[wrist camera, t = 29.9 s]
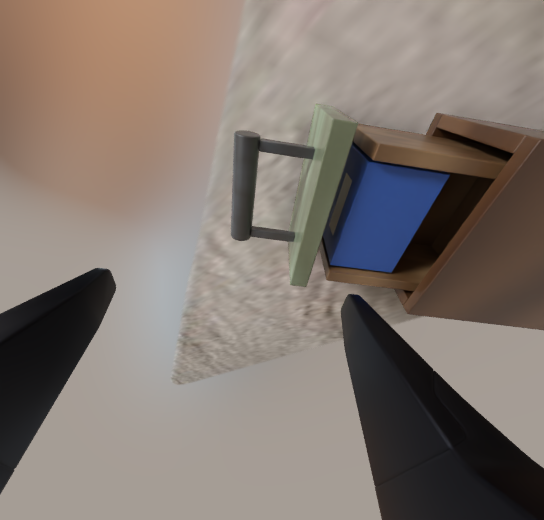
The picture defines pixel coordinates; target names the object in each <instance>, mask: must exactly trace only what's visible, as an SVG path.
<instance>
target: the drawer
mask: <svg viewBox="0 0 544 520" xmlns="http://www.w3.org/2000/svg"><path fill="white" fill-rule="evenodd" d="M352 142H354V143H355V144H356V145H357V146H358V147H359V148H361V149H362V150H363V151H364V152H365V153H366V154H367V155H368V156H369V157H370V158H371V159H372V160H373V161H379V162H386V163H392V164H398V165H405V166H411V167H418V168H424V169H430V170H437V171H443V172H447V173H448V174H450V176H449V178H448V180H447V181H446V183H445V185H444V186H443V188H442V190H441V191H440V193H439V195H438V196H437V198H436V200H435V201H434V203H433V205H432V206H431V208H430V210H429V211H428V213H427V215H426V216H425V218H424V220H423V221H422V223H421V225H420V226H419V228H418V230H417V231H416V233H415V235H414V236H413V238H412V240H411V241H410V243H409V245H408V246H407V248H406V250H405V251H404V253H403V255H402V256H401V258H400V260H399V261H398V263H397V265H396V266H395V268H394V270H393V271H392V273H389V272H382V271H374V270H366V269H358V268H350V267H343V266H335V265H330V262H329V258H328V254H327V250H326V246H325V243H324V239H323V233H324V230H325V227H326V224H327V220H328V217H329V214H330V211H331V208H332V205H333V202H334V199H335V195H336V192H337V189H338V186H339V183H340V180H341V177H342V173H343V170H344V167H345V164H346V161H347V158H348V155H349V151H350V148H351V145H352ZM259 151H260V152H267V153H273V154H280V155H286V156H293V157H299V158H304V161H303V166H302V171H301V175H300V180H299V185H298V190H297V194H296V199H295V204H294V208H293V213H292V218H291V223H290V227H289V231H284V230H277V229H269V228H262V227H255V226H252V219H253V208H254V198H255V188H256V177H257V167H258V157H259ZM512 155H513V154H512V153H510V152H507V151H504V150H501V149H498V148H495V147H492V146H489V145H483V144H477V143H471V142H465V141H459V140H453V139H447V138H441V137H435V136H429V135H423V134H416V133H410V132H404V131H398V130H392V129H386V128H380V127H374V126H368V125H362V124H358V123H357V122H356V121H354V120H353V119H351V118H349V117H348V116H346V115H345V114H343V113H342V112H340V111H339V110H337V109H335V108H334V107H332V106H327V105H321V104H316V105H315V109H314V114H313V118H312V123H311V128H310V133H309V137H308V142H307V146H305V145H299V144H293V143H286V142H280V141H274V140H267V139H260V135H259V134H257V133H255V132H250V131H236V132H235V133H234V159H233V187H232V216H231V236H232V238H233V239H235V240H239V241H245V240H248V239H249V238H250V237H258V238H266V239H273V240H281V241H288V246H289V270H290V285H294V286H302V287H306V286H307V283H308V280H309V277H310V274H311V271H312V267H313V264H314V261H315V258H316V255H317V252H318V249H319V247H320V252H321V257H322V261H323V266H324V270H325V275H326V279H327V280H328V281H336V282H344V283H352V284H360V285H368V286H376V287H384V288H392V289H400V290H408V291H414V290H415V289H416V288H417V286H418V285H419V284H420V282H421V281H422V279H423V278H424V277H425V275H426V274H427V273H428V271H429V270H430V268H431V267H432V266H433V264H434V263H435V262H436V260H437V259H438V257H439V256H440V255H441V253H442V252H443V251H444V249H445V248H446V246H447V245H448V244H449V242H450V241H451V239H452V238H453V237H454V235H455V234H456V233H457V231H458V230H459V228H460V227H461V226H462V224H463V223H464V222H465V220H466V219H467V217H468V216H469V215H470V213H471V212H472V211H473V209H474V208H475V206H476V205H477V204H478V202H479V201H480V200H481V198H482V197H483V195H484V194H485V193H486V191H487V190H488V189H489V187H490V186H491V184H492V183H493V182H494V180H495V179H496V178H497V176H498V175H499V173H500V172H501V171H502V169H503V168H504V167H505V165H506V164H507V162H508V161H509V160H510V158H511V157H512Z"/></svg>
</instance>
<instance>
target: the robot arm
mask: <svg viewBox="0 0 544 520" xmlns="http://www.w3.org/2000/svg"><path fill="white" fill-rule="evenodd" d="M115 291H116V284H115V281H114V279H113V276H112V273H111V271H110V270H108V269H103V268H95V269H93V270H91V271H89V272H87V273H85V274H83V275H81V276H78V277H76V278H74V279H72V280H70V281H68V282H66V283H64V284H62V285H60V286H57V287H55V288H54V289H51V290H49V291H47V292H45V293H43V294H41V295H39V296H37V297H34V298H32V299H30V300H28V301H26V302H24V303H22V304H20V305H18V306H16V307H14V308H11V309H9V310H7V311H5V312H3V313H1V314H0V494H1V492H2V490H3V489H4V487H5V485H6V484H7V482H8V480H9V479H10V477H11V475H12V474H13V472H14V469H15V468H16V467H17V465H18V463H19V461H20V460H21V458H22V456H23V455H24V453H25V451H26V450H27V448H28V446H29V444H30V443H31V441H32V440H33V438H34V436H35V434H36V433H37V431H38V429H39V428H40V426H41V424H42V423H43V421H44V419H45V418H46V416H47V414H48V412H49V411H50V409H51V408H52V406H53V404H54V402H55V401H56V399H57V397H58V395H59V394H60V392H61V391H62V389H63V387H64V385H65V384H66V382H67V381H68V379H69V377H70V375H71V374H72V372H73V370H74V369H75V367H76V365H77V364H78V362H79V360H80V358H81V357H82V355H83V354H84V352H85V350H86V348H87V347H88V345H89V343H90V342H91V340H92V338H93V337H94V335H95V333H96V331H97V330H98V328H99V326H100V324H101V322H102V320H103V318H104V315H105V313H106V311H107V309H108V306H109V304H110V302H111V300H112V298H113V295H114V293H115ZM341 318H342V328H343V338H344V346H345V352H346V358H347V362H348V367H349V371H350V375H351V380H352V385H353V389H354V394H355V398H356V403H357V407H358V411H359V417H360V421H361V426H362V430H363V434H364V439H365V444H366V448H367V453H368V457H369V462H370V467H371V471H372V475H373V480H374V485H375V486H376V487H375V490H376V494H377V499H378V503H379V508H380V513H381V517H382V520H544V468H543V467H541V466H540V465H538V464H537V463H536V462H534V461H533V460H532V459H531V458H530V457H528V456H527V455H526V454H525V453H524V452H522V451H521V450H520V449H519V448H518V447H517V446H516V445H515V444H513V443H512V442H511V441H510V440H509V439H508V438H507V437H506V436H504V435H503V434H502V433H501V432H500V431H499V430H498V429H497V428H495V427H494V426H493V425H492V424H491V423H490V422H489V421H487V420H486V419H485V418H484V417H483V416H482V415H481V414H480V413H478V412H477V411H476V410H475V409H474V408H473V407H472V406H471V405H470V404H469V403H468V402H467V401H465V400H464V399H463V398H462V397H461V396H460V395H459V394H458V393H457V392H456V391H455V390H454V389H453V388H452V387H451V386H450V385H449V384H448V383H447V382H446V381H445V380H444V379H443V378H442V377H441V376H440V375H438V373H437V372H435V371H433V369H432V368H431V367H430V366H429V365H428V364H427V363H426V361H424V359H422V357H421V356H420V355H418V353H417V352H415V351H414V349H413V348H411V347H410V346H409V344H407V342H405V340H403V338H402V337H401V336H400V335H399V334H398V333H396V332H395V330H394V329H393V328H391V326H390V325H389V324H388V323H387V322H386V321H385V320H384V319H383V318H382V317H381V316H380V315H379V314H378V313H377V312H376V311H375V310H374V309H373V308H372V307H371V306H370V305H369V304H368V303H367V302H366V301H365V300H364V299H363V298H362V297H361V296H359V295H354V294H349V295H348V296H347V297H346V299H345V302H344V304H343V306H342V308H341Z"/></svg>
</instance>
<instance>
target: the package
mask: <svg viewBox="0 0 544 520" xmlns="http://www.w3.org/2000/svg"><path fill="white" fill-rule="evenodd" d="M449 176H450V174H448V173H447V172H443V171H437V170H430V169H424V168H418V167H411V166H405V165H398V164H392V163H386V162H379V161H373V160H372V159H371V158H370V157H369V156H368V155H367V154H366V153H365V152H364V151H363V150H362V149H361V148H359V147H358V146H357V145H356V144H355V143H354V142H352V145H351V148H350V151H349V155H348V158H347V161H346V164H345V167H344V170H343V173H342V177H341V180H340V183H339V186H338V189H337V192H336V195H335V199H334V202H333V205H332V208H331V211H330V214H329V217H328V220H327V224H326V227H325V230H324V233H323V239H324V243H325V246H326V250H327V254H328V258H329V262H330V265H335V266H343V267H350V268H358V269H366V270H374V271H382V272H389V273H392V271H393V270H394V268H395V266H396V265H397V263H398V261H399V260H400V258H401V256H402V255H403V253H404V251H405V250H406V248H407V246H408V245H409V243H410V241H411V240H412V238H413V236H414V235H415V233H416V231H417V230H418V228H419V226H420V225H421V223H422V221H423V220H424V218H425V216H426V215H427V213H428V211H429V210H430V208H431V206H432V205H433V203H434V201H435V200H436V198H437V196H438V195H439V193H440V191H441V190H442V188H443V186H444V185H445V183H446V181H447V180H448V178H449Z"/></svg>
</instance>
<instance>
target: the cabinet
mask: <svg viewBox="0 0 544 520" xmlns="http://www.w3.org/2000/svg"><path fill="white" fill-rule="evenodd" d="M426 135H429V136H435V137H441V138H447V139H453V140H459V141H465V142H471V143H477V144H483V145H489V146H492V147H495V148H498V149H501V150H504V151H507V152H510V153H512V154H513V155H512V157H511V158H510V160H509V161H508V162H507V164H506V165H505V167H504V168H503V169H502V171H501V172H500V173H499V175H498V176H497V178H496V179H495V180H494V182H493V183H492V184H491V186H490V187H489V189H488V190H487V191H486V193H485V194H484V195H483V197H482V198H481V200H480V201H479V202H478V204H477V205H476V206H475V208H474V209H473V211H472V212H471V213H470V215H469V216H468V217H467V219H466V220H465V222H464V223H463V224H462V226H461V227H460V228H459V230H458V231H457V233H456V234H455V235H454V237H453V238H452V239H451V241H450V242H449V244H448V245H447V246H446V248H445V249H444V251H443V252H442V253H441V255H440V256H439V257H438V259H437V260H436V262H435V263H434V264H433V266H432V267H431V268H430V270H429V271H428V273H427V274H426V275H425V277H424V278H423V279H422V281H421V282H420V284H419V285H418V286H417V288H416V289H415V290H414V291H408V290H400V289H394V290H395V292H396V294H397V296H398V298H399V299H400V301H401V303H402V305H403V306H404V309H405V310H406V312H407V314H412V315H420V316H429V317H438V318H445V319H454V320H462V321H472V322H480V323H488V324H496V325H505V326H513V327H522V328H530V329H539V330H544V131H540V130H534V129H528V128H523V127H517V126H511V125H505V124H499V123H494V122H488V121H482V120H476V119H470V118H465V117H459V116H453V115H447V114H441V113H436V115H435V117H434V119H433V121H432V123H431V125H430V127H429V130H428V132H427V134H426Z"/></svg>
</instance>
